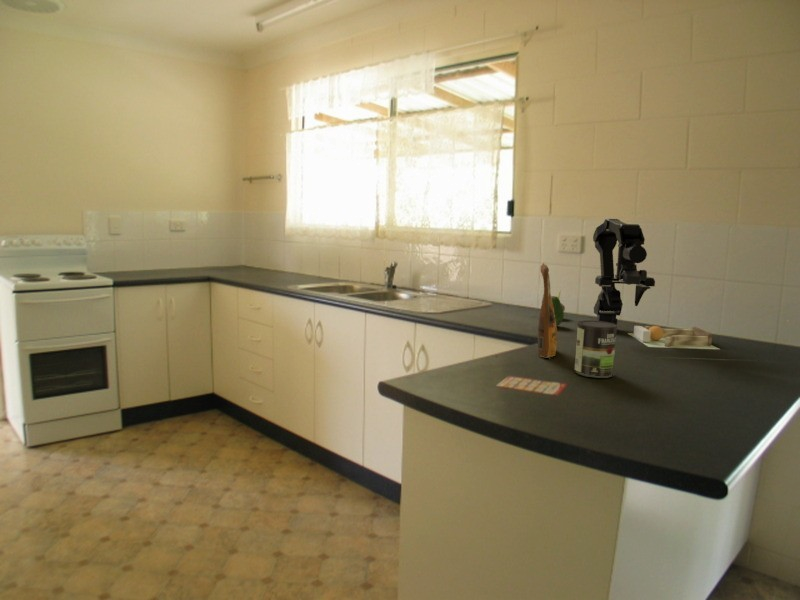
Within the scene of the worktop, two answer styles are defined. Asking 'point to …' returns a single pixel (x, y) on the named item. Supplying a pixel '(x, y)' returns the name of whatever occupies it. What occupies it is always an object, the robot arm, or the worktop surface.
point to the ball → (656, 333)
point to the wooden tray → (686, 337)
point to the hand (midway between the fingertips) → (622, 305)
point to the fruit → (557, 310)
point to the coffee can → (595, 347)
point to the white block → (642, 333)
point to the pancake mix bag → (547, 320)
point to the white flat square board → (662, 344)
